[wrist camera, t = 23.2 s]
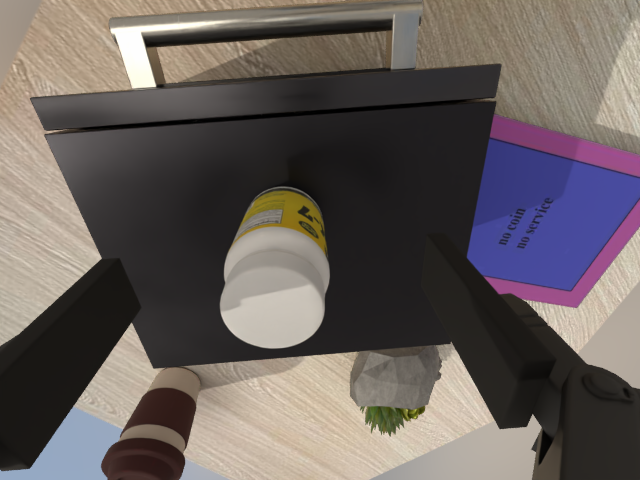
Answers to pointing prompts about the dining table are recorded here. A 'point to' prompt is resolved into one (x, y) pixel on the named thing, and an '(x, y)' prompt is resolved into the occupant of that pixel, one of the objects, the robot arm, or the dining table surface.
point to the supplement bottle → (277, 271)
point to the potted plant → (394, 384)
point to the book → (551, 212)
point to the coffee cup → (156, 430)
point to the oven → (269, 172)
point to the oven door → (271, 91)
